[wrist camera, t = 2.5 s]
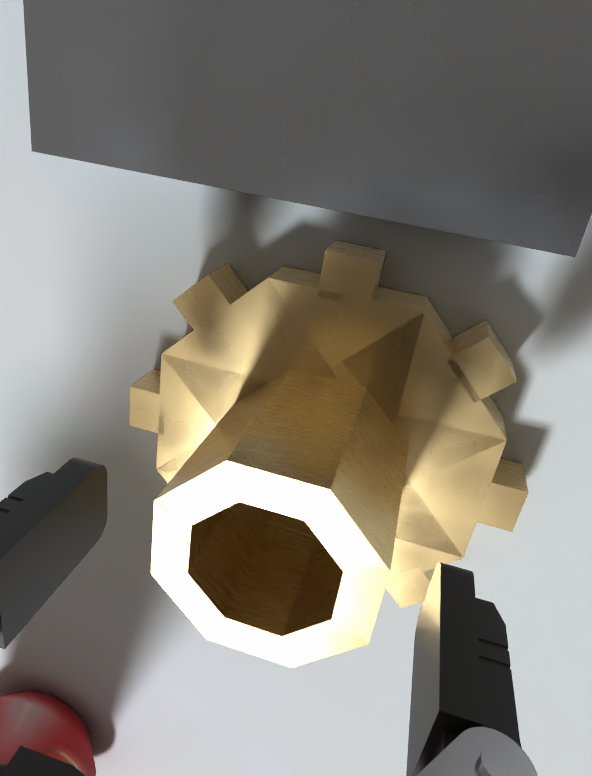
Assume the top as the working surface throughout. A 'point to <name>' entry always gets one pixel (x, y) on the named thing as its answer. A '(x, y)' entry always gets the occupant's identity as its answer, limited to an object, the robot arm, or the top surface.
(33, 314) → the top surface
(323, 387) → the gear
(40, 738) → the liquor
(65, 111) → the carrier plate
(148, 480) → the top surface
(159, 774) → the top surface
